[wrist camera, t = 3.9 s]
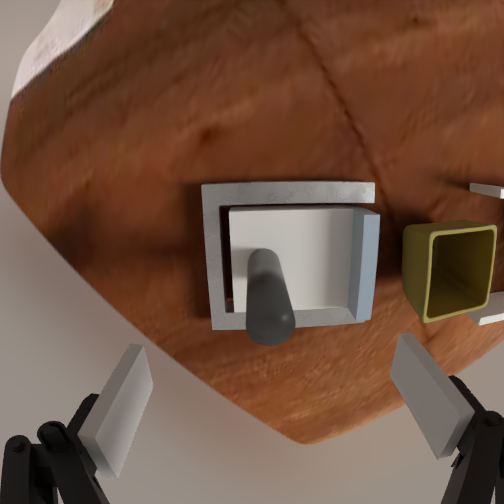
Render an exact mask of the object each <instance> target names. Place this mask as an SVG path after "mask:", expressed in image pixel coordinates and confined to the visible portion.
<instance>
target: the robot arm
mask: <svg viewBox="0 0 504 504" xmlns="http://www.w3.org/2000/svg"><path fill="white" fill-rule="evenodd" d="M390 377H391V378H392V380H393V382H394V384H395V385H396V387H397V389H398V390H399V392H400V394H401V396H402V397H403V399H404V401H405V403H406V404H407V406H408V408H409V409H410V411H411V413H412V415H413V416H414V418H415V420H416V421H417V423H418V426H419V427H420V429H421V431H422V433H423V435H424V436H425V438H426V440H427V442H428V444H429V446H430V447H431V449H432V451H433V453H434V455H435V457H436V459H437V460H439V459H442V458H445V457H448V456H450V455H452V453H453V452H454V450H455V448H456V447H457V448H458V450H459V451H460V452H459V454H458V456H457V457H456V459H455V461H454V462H453V464H452V465H451V467H453V466H454V468H453V471H452V474H451V477H450V480H449V483H448V486H447V489H446V491H445V494H444V496H443V499H442V502H441V504H490V503H491V499H492V495H493V491H494V487H495V504H504V418H503V417H502V416H501V415H500V414H499V413H497V412H494V411H486V410H485V409H484V407H483V406H482V405H481V404H480V403H479V401H478V400H477V399H476V397H475V396H474V395H473V394H472V393H471V391H470V390H469V389H468V388H467V387H466V385H465V384H464V383H463V382H462V380H460V379H459V378H457V377H455V376H454V375H452V376H447V375H446V374H445V373H444V371H443V370H442V369H441V368H440V366H439V365H438V364H437V363H436V362H435V360H434V359H433V358H432V357H431V355H430V354H429V353H428V352H427V351H426V349H425V348H424V347H423V346H422V345H421V344H420V342H419V341H418V340H417V339H416V338H415V336H414V335H413V334H412V333H411V332H410V333H403V334H399V335H398V340H397V345H396V350H395V355H394V359H393V364H392V368H391V372H390ZM152 389H153V382H152V378H151V374H150V370H149V366H148V362H147V357H146V353H145V349H144V345H136V344H130V345H129V347H128V348H127V350H126V352H125V353H124V355H123V357H122V358H121V360H120V362H119V363H118V365H117V367H116V368H115V370H114V372H113V373H112V375H111V377H110V378H109V380H108V382H107V383H106V385H105V387H104V389H103V390H102V392H101V394H100V395H99V394H90V395H89V396H88V397H86V398H85V399H84V400H83V401H82V403H81V405H80V406H79V409H78V410H77V411H76V414H75V415H74V416H73V418H72V419H71V421H70V423H69V425H68V426H67V428H66V427H65V426H64V424H62V423H61V422H58V421H49V422H47V423H44V424H43V425H42V426H40V428H39V429H38V431H37V437H38V439H39V440H40V442H41V444H31V442H30V441H29V439H28V438H27V437H25V436H23V435H17V436H13V437H11V438H10V439H9V440H8V441H7V443H6V445H5V450H4V459H3V467H2V477H1V490H0V504H58V495H57V487H58V490H59V492H60V495H61V498H62V500H63V503H64V504H110V503H109V501H108V500H107V498H106V496H105V494H104V492H103V490H102V488H101V486H100V485H99V482H98V480H97V478H96V477H95V472H96V470H97V469H98V471H99V472H100V474H101V475H102V476H104V477H108V478H113V479H119V476H120V473H121V470H122V468H123V465H124V462H125V459H126V457H127V454H128V451H129V449H130V446H131V443H132V440H133V438H134V435H135V433H136V430H137V427H138V425H139V422H140V420H141V417H142V414H143V412H144V409H145V407H146V404H147V401H148V399H149V397H150V394H151V391H152Z"/></svg>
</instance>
